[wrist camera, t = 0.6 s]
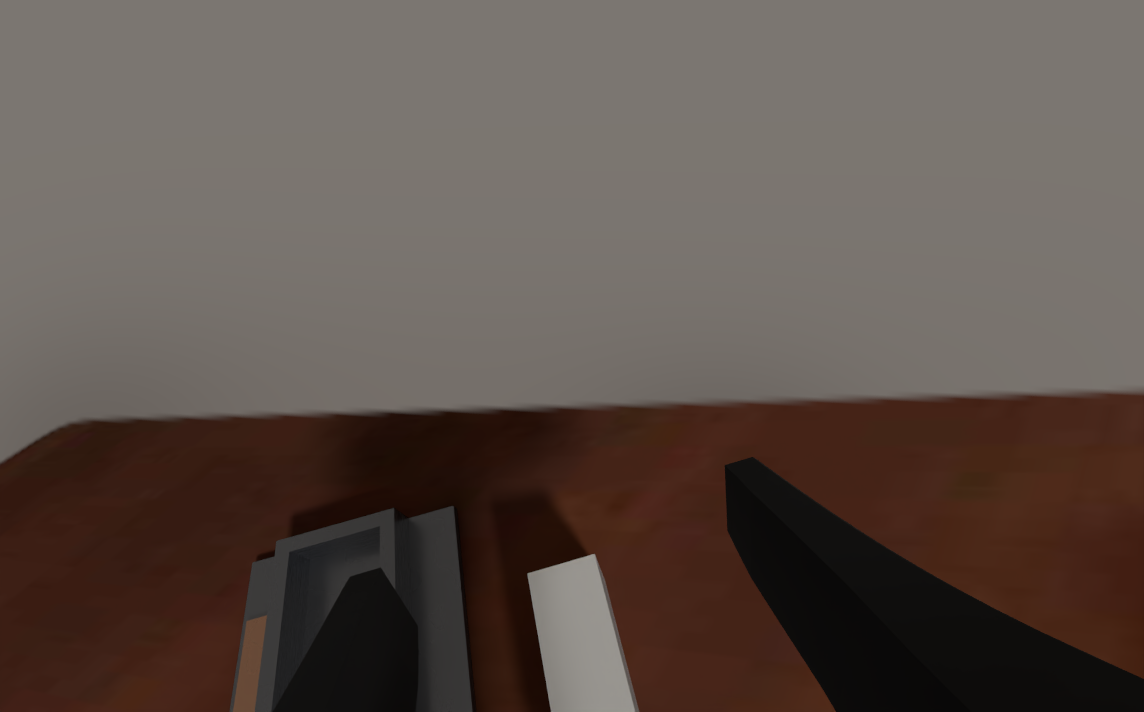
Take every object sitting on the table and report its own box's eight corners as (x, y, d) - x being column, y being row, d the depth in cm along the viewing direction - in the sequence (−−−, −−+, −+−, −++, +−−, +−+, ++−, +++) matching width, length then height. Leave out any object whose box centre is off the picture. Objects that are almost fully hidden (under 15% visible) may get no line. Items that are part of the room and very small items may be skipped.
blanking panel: (671, 835, 19) (679, 886, 14) (601, 858, 19) (586, 916, 14) (604, 579, 25) (594, 553, 20) (550, 595, 25) (527, 573, 20)
